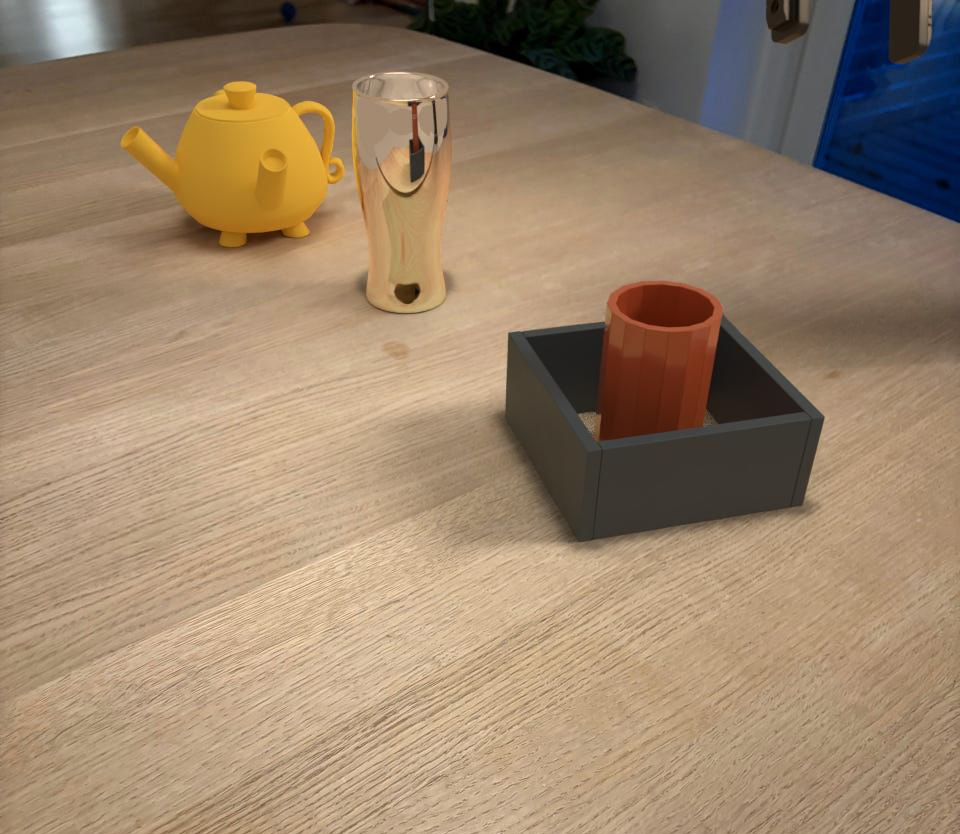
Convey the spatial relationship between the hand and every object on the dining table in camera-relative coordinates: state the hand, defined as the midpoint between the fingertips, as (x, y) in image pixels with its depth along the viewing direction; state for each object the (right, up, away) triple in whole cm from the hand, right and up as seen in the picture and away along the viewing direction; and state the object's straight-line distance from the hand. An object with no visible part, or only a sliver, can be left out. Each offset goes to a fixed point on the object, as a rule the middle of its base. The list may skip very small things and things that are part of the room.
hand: (850, 49), depth 62 cm
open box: (-10, -22, +6) cm, 26 cm away
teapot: (-40, +2, +33) cm, 52 cm away
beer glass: (-26, -6, +24) cm, 36 cm away
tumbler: (-11, -22, +6) cm, 25 cm away
